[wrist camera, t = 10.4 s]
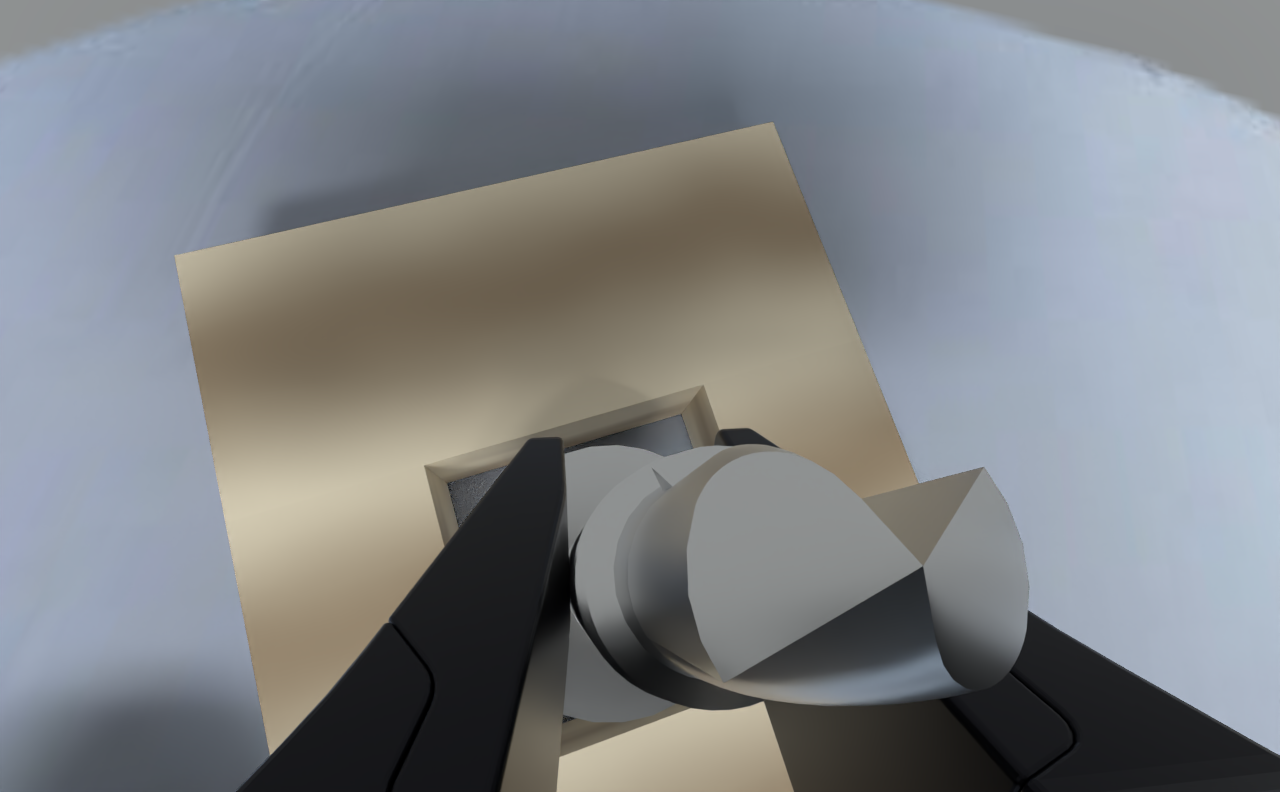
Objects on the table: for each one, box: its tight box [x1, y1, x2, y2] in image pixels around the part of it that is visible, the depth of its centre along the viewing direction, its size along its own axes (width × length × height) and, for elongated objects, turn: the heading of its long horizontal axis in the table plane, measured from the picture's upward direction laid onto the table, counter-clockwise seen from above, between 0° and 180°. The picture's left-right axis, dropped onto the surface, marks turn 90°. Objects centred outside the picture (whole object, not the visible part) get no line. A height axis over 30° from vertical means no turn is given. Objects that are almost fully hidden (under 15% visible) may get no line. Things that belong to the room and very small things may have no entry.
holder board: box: [174, 122, 919, 792], centre depth 16 cm, size 18×14×3 cm
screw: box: [563, 444, 1029, 722], centre depth 8 cm, size 13×5×5 cm
